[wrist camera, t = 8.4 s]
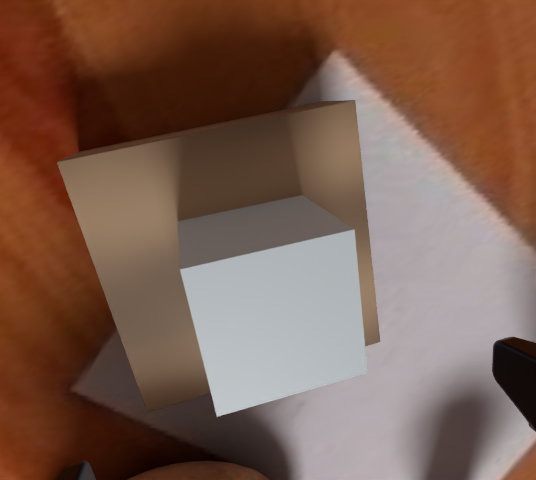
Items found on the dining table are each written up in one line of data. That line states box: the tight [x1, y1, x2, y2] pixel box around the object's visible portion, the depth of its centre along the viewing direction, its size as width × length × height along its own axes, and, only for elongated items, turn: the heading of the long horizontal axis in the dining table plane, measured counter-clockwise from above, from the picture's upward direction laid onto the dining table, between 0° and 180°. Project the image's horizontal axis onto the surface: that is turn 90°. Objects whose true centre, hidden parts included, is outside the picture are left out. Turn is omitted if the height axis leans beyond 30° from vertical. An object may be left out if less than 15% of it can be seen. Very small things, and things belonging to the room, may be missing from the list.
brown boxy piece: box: [57, 100, 380, 412], centre depth 19 cm, size 11×11×4 cm
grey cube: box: [177, 195, 367, 417], centre depth 14 cm, size 5×5×5 cm
